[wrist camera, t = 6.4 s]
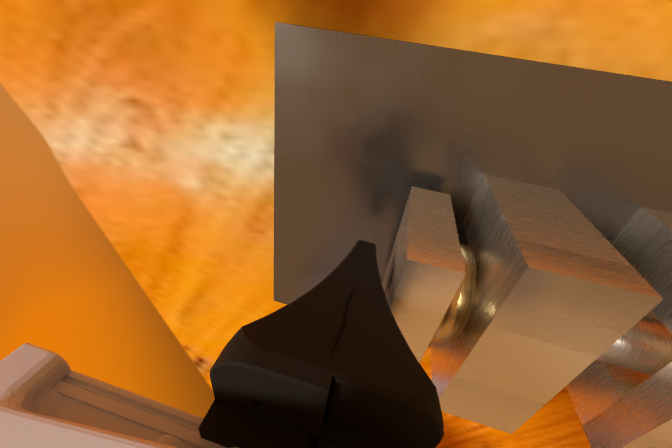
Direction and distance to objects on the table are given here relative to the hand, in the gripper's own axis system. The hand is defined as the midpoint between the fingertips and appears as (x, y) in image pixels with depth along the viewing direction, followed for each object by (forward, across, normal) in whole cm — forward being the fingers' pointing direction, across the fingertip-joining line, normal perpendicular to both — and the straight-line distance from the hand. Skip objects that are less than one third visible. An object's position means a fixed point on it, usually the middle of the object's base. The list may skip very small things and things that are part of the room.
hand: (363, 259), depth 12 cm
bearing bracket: (+4, -5, 0) cm, 6 cm away
